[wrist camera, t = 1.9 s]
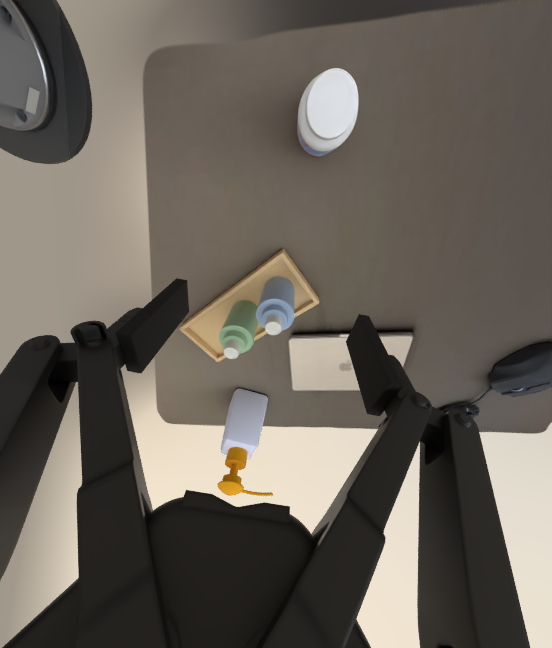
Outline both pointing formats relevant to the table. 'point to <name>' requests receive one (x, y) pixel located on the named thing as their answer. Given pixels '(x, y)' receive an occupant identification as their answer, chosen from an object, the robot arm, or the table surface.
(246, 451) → the soap bottle
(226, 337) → the green bottle
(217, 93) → the table surface
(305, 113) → the pill bottle
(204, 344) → the tray
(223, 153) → the table surface
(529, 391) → the computer mouse
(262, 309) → the blue-grey bottle
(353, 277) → the table surface
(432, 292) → the table surface
